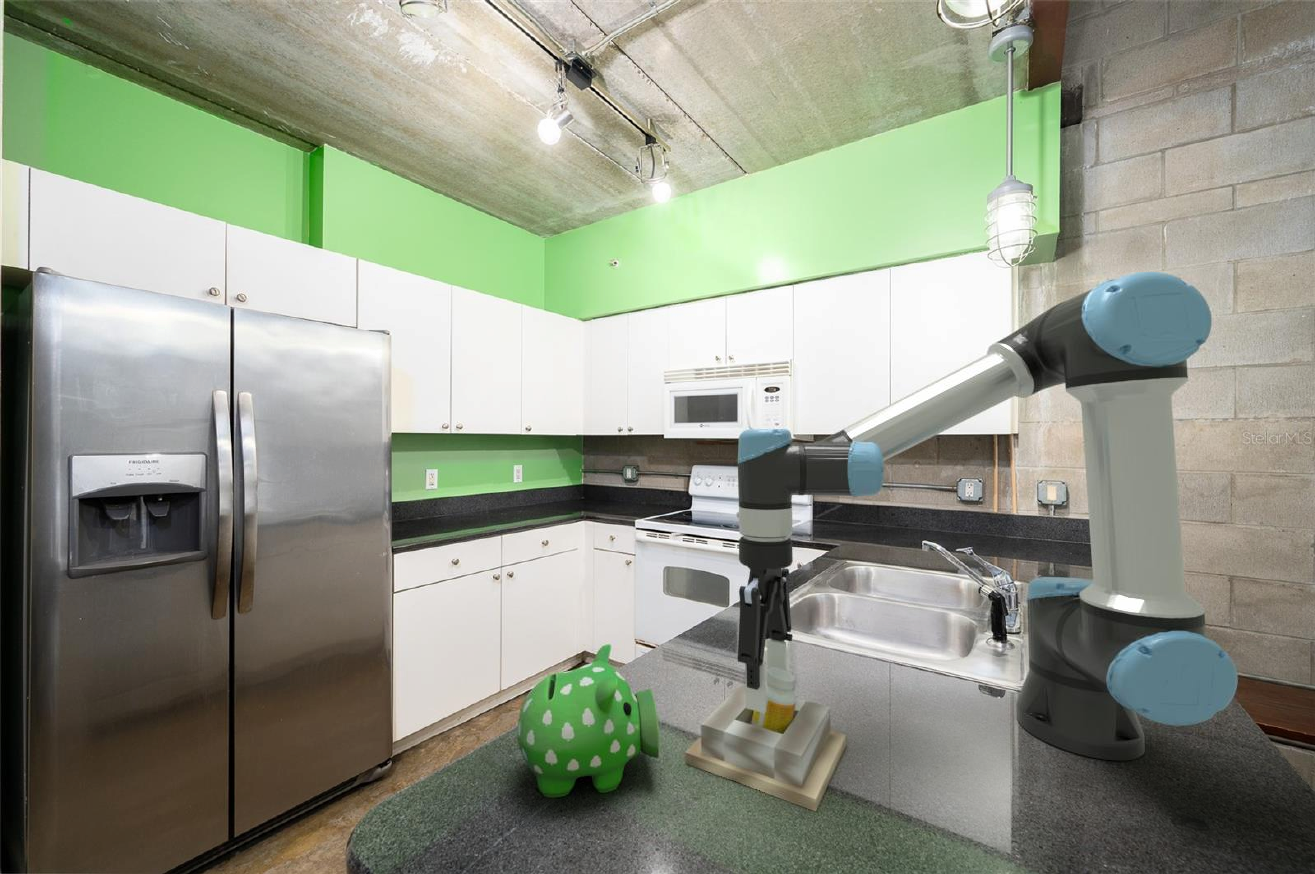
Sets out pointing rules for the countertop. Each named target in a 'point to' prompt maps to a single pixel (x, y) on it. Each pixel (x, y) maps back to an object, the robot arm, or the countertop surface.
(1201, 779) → the countertop surface
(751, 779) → the block
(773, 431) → the robot arm
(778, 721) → the supplement bottle
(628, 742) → the piggy bank
